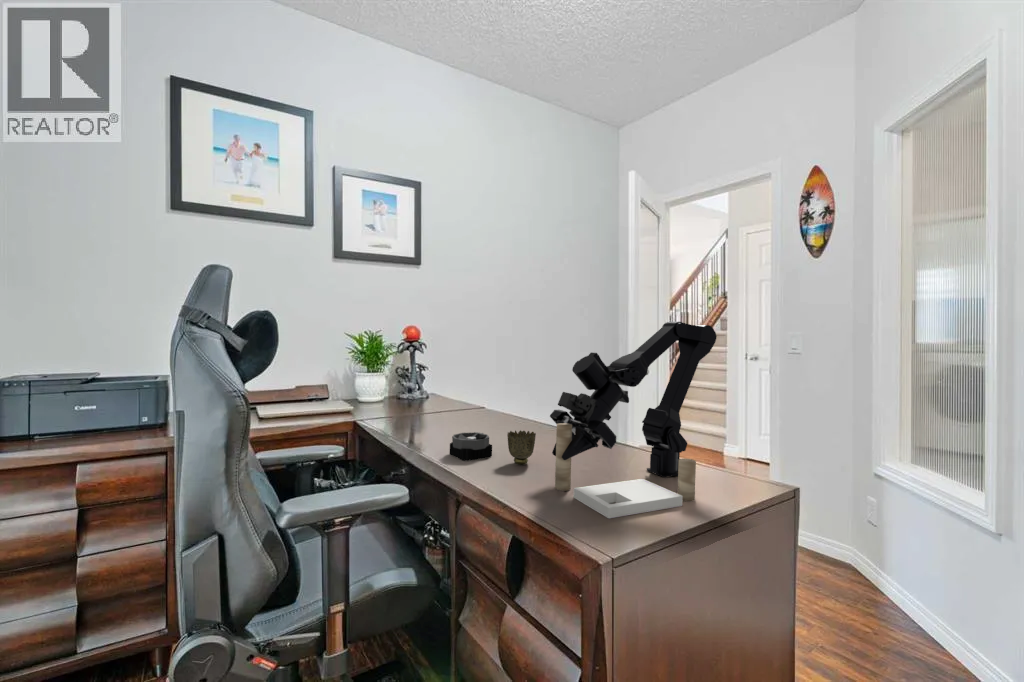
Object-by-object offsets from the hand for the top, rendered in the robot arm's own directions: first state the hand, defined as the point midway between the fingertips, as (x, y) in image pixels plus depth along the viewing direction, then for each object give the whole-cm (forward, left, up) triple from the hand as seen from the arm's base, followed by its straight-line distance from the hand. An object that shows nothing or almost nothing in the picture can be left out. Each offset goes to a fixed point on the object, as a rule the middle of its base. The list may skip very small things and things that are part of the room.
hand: (558, 456), depth 105 cm
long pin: (-1, 0, -7) cm, 7 cm away
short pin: (-22, +15, -7) cm, 28 cm away
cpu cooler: (+8, -33, -7) cm, 35 cm away
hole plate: (-9, +12, -7) cm, 17 cm away
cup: (-1, -21, -7) cm, 22 cm away
